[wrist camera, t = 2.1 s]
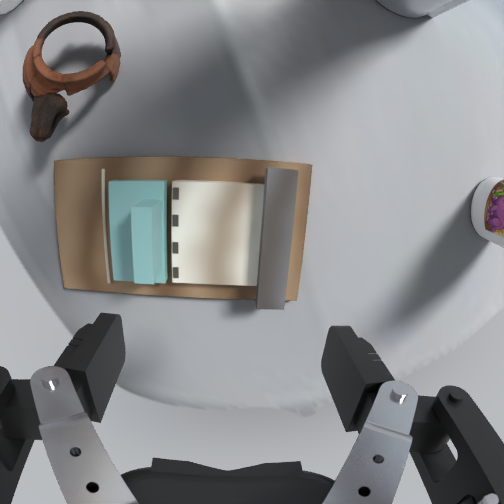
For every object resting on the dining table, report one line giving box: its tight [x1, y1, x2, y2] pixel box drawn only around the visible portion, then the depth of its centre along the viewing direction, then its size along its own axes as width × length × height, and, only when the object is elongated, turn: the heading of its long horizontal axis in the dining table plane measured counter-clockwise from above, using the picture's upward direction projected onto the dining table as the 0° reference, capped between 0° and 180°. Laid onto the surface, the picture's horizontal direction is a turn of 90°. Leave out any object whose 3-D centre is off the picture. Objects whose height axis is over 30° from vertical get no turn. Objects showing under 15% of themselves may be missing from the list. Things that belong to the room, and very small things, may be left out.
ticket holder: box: [54, 157, 312, 310], centre depth 27 cm, size 24×13×4 cm, turn 86°
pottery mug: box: [23, 11, 121, 142], centre depth 21 cm, size 12×10×8 cm
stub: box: [109, 180, 168, 284], centre depth 25 cm, size 5×9×5 cm, turn 176°
